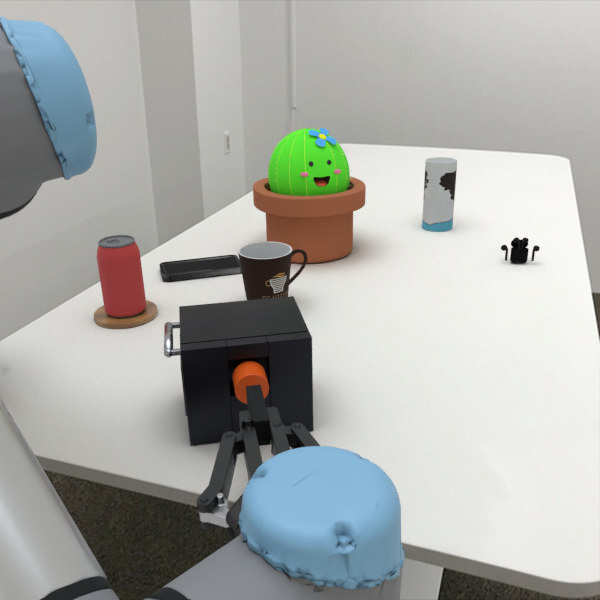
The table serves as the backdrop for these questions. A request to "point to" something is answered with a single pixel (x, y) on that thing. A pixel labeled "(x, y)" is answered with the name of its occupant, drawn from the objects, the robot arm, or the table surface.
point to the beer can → (121, 276)
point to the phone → (200, 267)
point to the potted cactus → (310, 196)
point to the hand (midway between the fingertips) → (253, 397)
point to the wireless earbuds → (519, 250)
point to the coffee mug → (267, 269)
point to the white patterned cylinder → (439, 194)
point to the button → (249, 379)
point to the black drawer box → (235, 350)
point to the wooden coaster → (128, 322)
